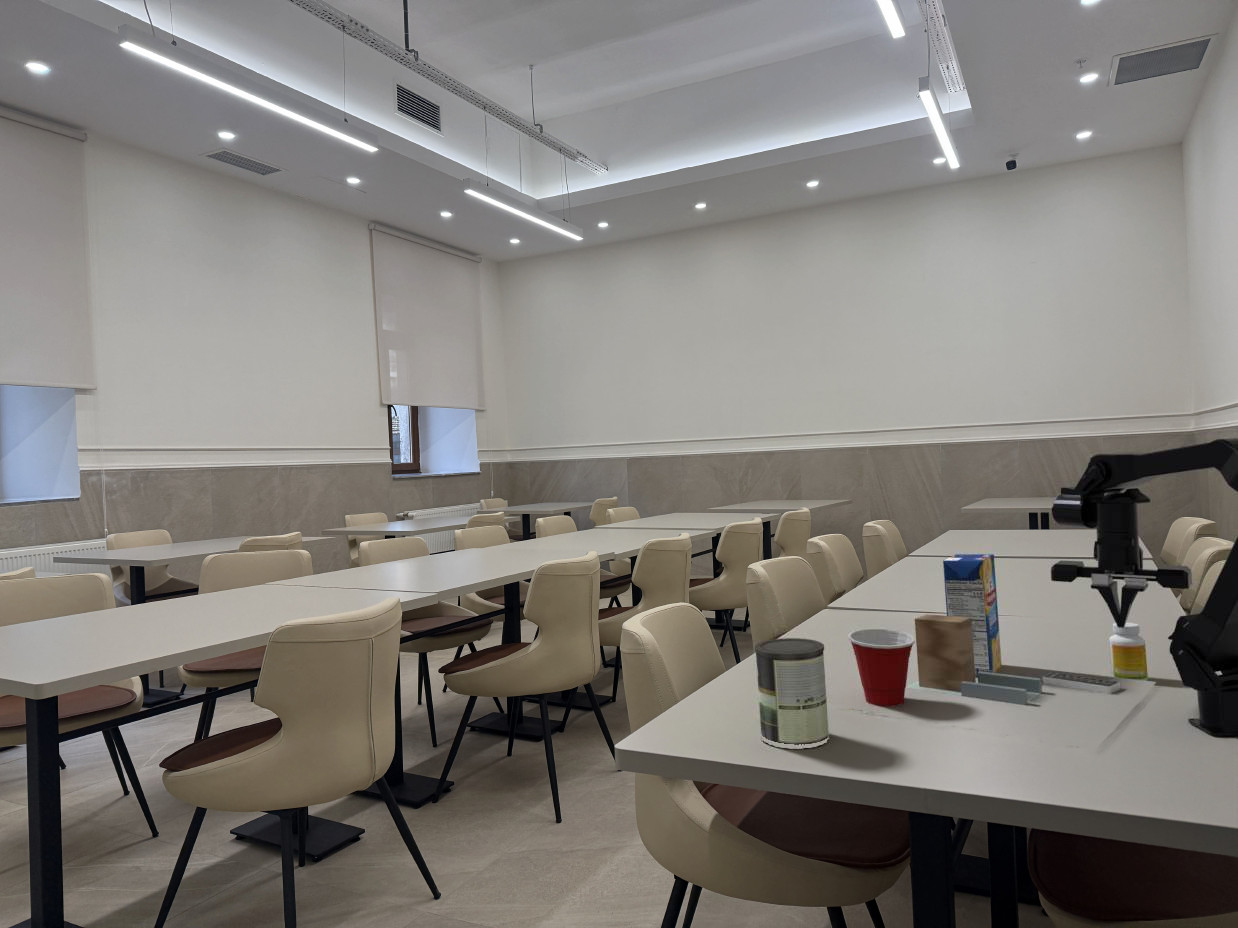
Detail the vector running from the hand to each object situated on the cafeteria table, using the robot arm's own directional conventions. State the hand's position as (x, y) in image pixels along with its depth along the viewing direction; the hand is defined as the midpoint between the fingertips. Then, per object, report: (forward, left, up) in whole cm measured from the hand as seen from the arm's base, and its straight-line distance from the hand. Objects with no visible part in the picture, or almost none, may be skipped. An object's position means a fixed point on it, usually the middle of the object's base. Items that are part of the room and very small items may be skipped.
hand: (1121, 627), depth 128 cm
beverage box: (+20, +17, -12) cm, 29 cm away
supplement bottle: (+14, -7, -12) cm, 20 cm away
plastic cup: (0, +37, -12) cm, 39 cm away
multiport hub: (+7, +4, -13) cm, 15 cm away
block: (+8, +25, -11) cm, 29 cm away
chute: (+6, +22, -12) cm, 26 cm away
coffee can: (-16, +53, -12) cm, 57 cm away
